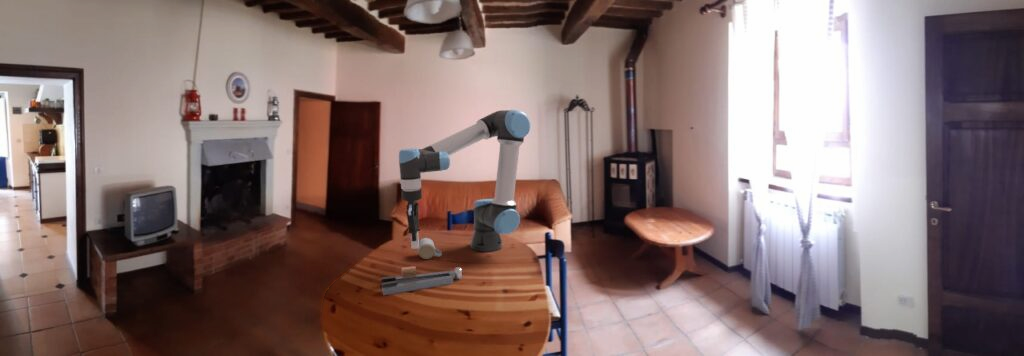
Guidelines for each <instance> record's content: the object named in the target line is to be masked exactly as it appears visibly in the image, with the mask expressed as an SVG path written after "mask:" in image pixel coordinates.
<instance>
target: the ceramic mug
mask: <svg viewBox="0 0 1024 356" xmlns="http://www.w3.org/2000/svg"><path fill="white" fill-rule="evenodd" d="M417 253H418V255H419V257H420V258H422V259H424V260H431V259H432V258H433V257H439V258H440V257H442V254H443V251H441V250H440V249H438V248H436V247H435V244H434V241H433V240H432V239H431V238H430V237H429V238H428V237H423V238H421V239H420V240H419V248H418V249H417Z"/></svg>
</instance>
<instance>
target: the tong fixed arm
mask: <svg viewBox="0 0 1024 356" xmlns="http://www.w3.org/2000/svg"><path fill="white" fill-rule="evenodd" d="M452 284H454V278H453V277H452V275H451V276H444V277H438V278H432V279H426V280H420V281H414V282H407V283H401V284H397V281H391V282H385V283H382V287H381V292H382V295H383V296H388V295H389V296H390V295H394V294H401V293H406V292H407V293H408V292H411V291H412V292H413V291H417V290H425V289H429V288H435V287H436V288H437V287H440V286H447V285H452Z"/></svg>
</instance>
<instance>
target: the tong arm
mask: <svg viewBox="0 0 1024 356" xmlns="http://www.w3.org/2000/svg"><path fill="white" fill-rule="evenodd" d="M462 269H463V268H462V267H459V266H458V267H455V268H454V270H446V271H445V270H444V271H437V272H436V271H435V272H429V273H420V274H419V273H418V274H417V267H416V266H415V265H414V266H413V265H412V266H404V267H403V266H402V267H401V276H396V275H394V276H393V275H392V276H384V277H381V278H380V283H381V288H382V283H385V282H391V281H397V284H401V283H407V282H414V281H420V280H426V279H432V278H438V277H444V276H451V275H452V277H453V279H455V280H461V279H462V277H463V275H462V274H463V271H462Z"/></svg>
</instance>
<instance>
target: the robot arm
mask: <svg viewBox="0 0 1024 356" xmlns="http://www.w3.org/2000/svg"><path fill="white" fill-rule="evenodd" d="M530 130H531V122H530V119H529V117H528V116H527V114H526V113H525V112H523V111H522V110H516V109H510V110H507V109H506V110H503V109H502V110H496V111H494V112H492V113H490V114H488V115H485V116H483V117H482V118H480V119H477V121H476V123H475V124H472V125H470V126H468V127H466V128H464V129H462V130H460V131H457V132H456V133H453V134H450V135H449V136H447V137H445V138H443V139H441V140H439V141H437V142H434V143H432V144H430V145H428V146H426V147H423V148H404V149H401V150H399V152H398V164H399V176H400V180H399V184H400V188H401V191H400V192H401V200H402V201H404V202H405V201H406V202H407V204H406V210H405V213H406V218H407V225H408V226H407V227H408V232H407V233H408V234H410V245H411V246H410V247H411V250H414V249H415V250H416V249H418V248H419V241H420V240H419V231H421V228H419V227H420V222H419V216H420V214H419V202H418V201H419V200H421V199H422V198H423V192H422V189H421V188H422V175H421V174H422V173H423V174H424V173H431V172H442V171H447V170H448V169H449V168H450V166H451V159H450V156H451V155H453V154H455V153H458V152H460V151H461V150H464V149H465V148H468V147H470V146H471V145H474V144H476V143H478V142H480V141H482V140H485V141H486V140H489V139H491V138H493V137H496V138H497V140H496V141H497V142H498V143H499V151H498V160H497V161H498V162H497V171H496V172H497V173H496V180H495V187H494V197H493V198H483V199H477V200H475V201H474V203H473V228H474V230H473V235H472V238H471V240H470V248H471V249H472V250H473V251H477V252H495V251H499V250H501V249H502V248H503V239H502V237H501V234H502V235H509V234H511V233H514V232H515V230H517V229H518V227H519V226H520V222H521V216H520V214H519V212H518V211H517V202H516V201H515V191H516V184H517V183H516V180H517V175H518V174H517V172H518V171H517V170H518V164H519V154H520V147H521V145H523V144H524V141H525V137H526V136H527V135H528V134H529V133H530Z"/></svg>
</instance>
